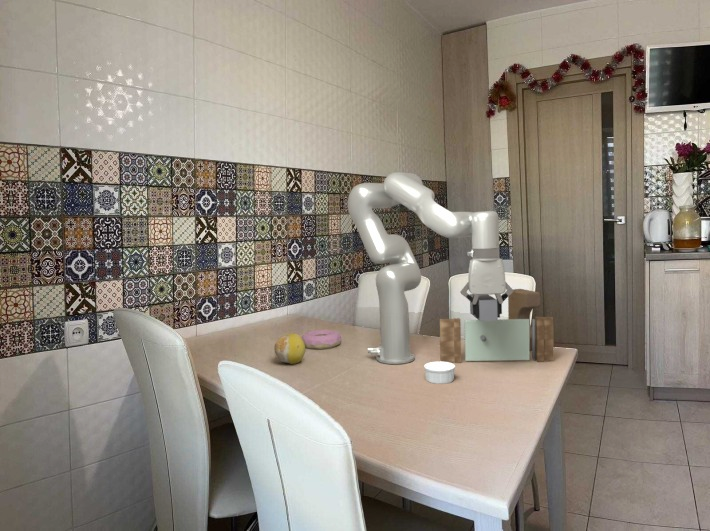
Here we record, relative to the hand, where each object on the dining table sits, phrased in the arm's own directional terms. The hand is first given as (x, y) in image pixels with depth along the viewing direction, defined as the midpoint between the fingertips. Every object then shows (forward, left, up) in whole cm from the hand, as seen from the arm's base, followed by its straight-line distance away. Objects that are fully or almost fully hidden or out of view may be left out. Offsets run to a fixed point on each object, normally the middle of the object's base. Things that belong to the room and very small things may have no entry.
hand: (487, 316), depth 150 cm
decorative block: (+18, +32, -18) cm, 41 cm away
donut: (-55, +40, -18) cm, 71 cm away
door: (+6, +14, -17) cm, 23 cm away
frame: (+5, +15, -18) cm, 24 cm away
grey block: (0, +5, -1) cm, 5 cm away
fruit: (-62, +16, -18) cm, 67 cm away
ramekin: (-14, -3, -18) cm, 23 cm away
